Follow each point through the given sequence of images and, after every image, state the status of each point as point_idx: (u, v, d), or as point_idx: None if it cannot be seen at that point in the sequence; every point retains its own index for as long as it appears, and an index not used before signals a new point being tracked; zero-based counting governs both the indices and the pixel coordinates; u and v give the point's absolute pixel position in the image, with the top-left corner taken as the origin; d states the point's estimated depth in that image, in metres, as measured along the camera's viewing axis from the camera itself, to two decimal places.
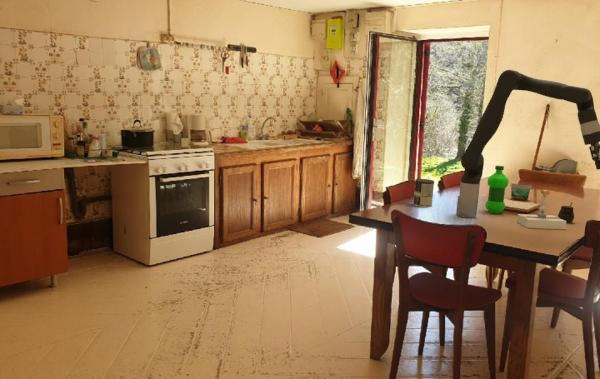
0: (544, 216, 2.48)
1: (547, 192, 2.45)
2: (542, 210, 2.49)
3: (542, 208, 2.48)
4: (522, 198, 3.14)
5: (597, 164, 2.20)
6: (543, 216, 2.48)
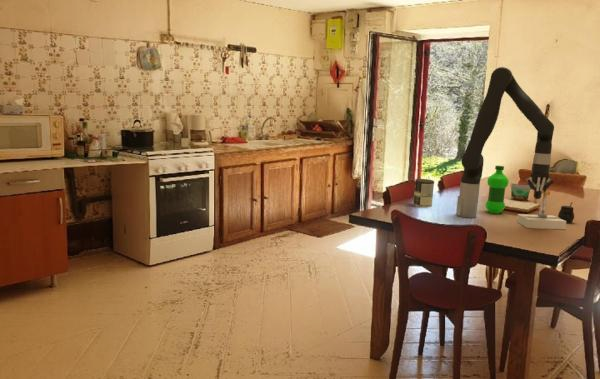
0: (545, 216, 2.48)
1: (548, 192, 2.45)
2: (543, 210, 2.49)
3: (543, 208, 2.48)
4: (522, 198, 3.14)
5: (534, 194, 2.48)
6: (544, 216, 2.48)
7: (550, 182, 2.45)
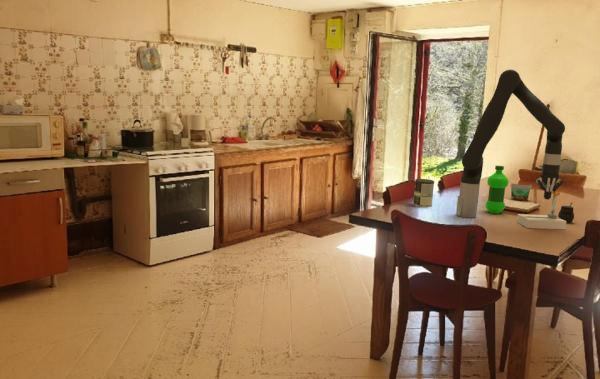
0: (554, 216, 2.48)
1: (558, 192, 2.46)
2: (552, 210, 2.49)
3: (552, 208, 2.49)
4: (522, 198, 3.14)
5: (544, 194, 2.48)
6: (553, 216, 2.48)
7: (560, 183, 2.46)
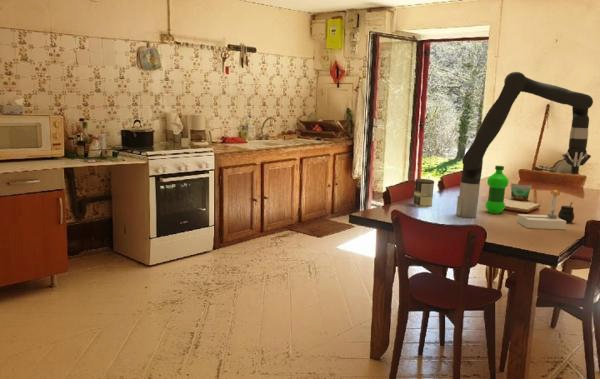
0: (554, 216, 2.48)
1: (557, 192, 2.46)
2: (552, 210, 2.49)
3: (552, 208, 2.49)
4: (522, 198, 3.14)
5: (571, 169, 2.46)
6: (553, 216, 2.48)
7: (587, 157, 2.43)
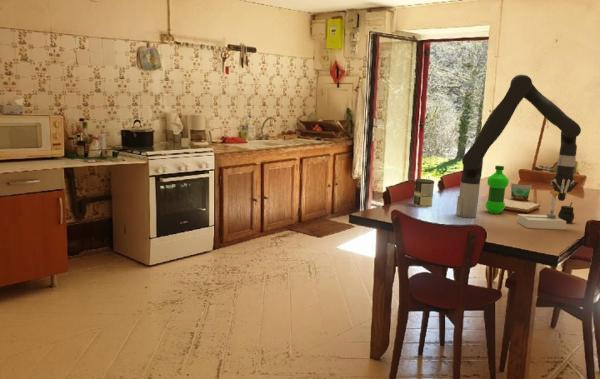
0: (554, 216, 2.48)
1: (557, 192, 2.46)
2: (552, 210, 2.49)
3: (552, 208, 2.49)
4: (522, 198, 3.14)
5: (558, 195, 2.48)
6: (553, 216, 2.48)
7: (574, 184, 2.46)
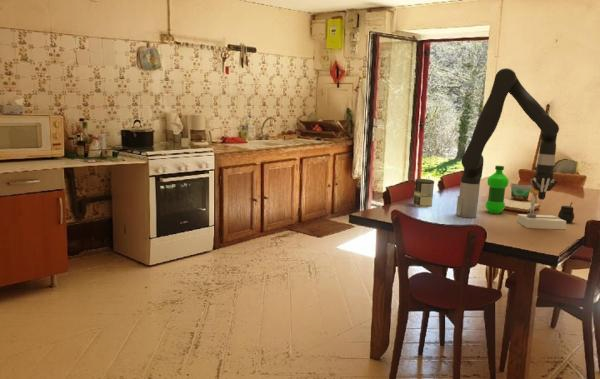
0: (534, 216, 2.48)
1: (537, 192, 2.45)
2: (532, 210, 2.48)
3: (532, 208, 2.48)
4: (522, 198, 3.14)
5: (538, 194, 2.48)
6: (533, 216, 2.48)
7: (554, 183, 2.46)
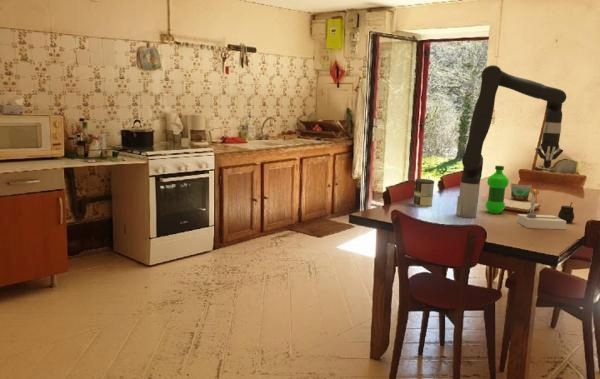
0: (534, 216, 2.48)
1: (537, 192, 2.45)
2: (532, 210, 2.48)
3: (532, 208, 2.48)
4: (522, 198, 3.14)
5: (544, 163, 2.50)
6: (533, 216, 2.48)
7: (560, 151, 2.48)
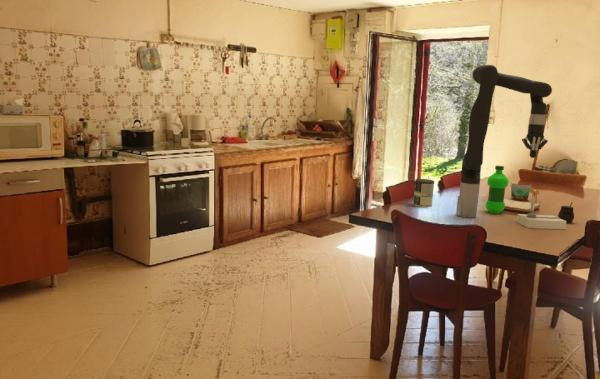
0: (534, 216, 2.48)
1: (537, 192, 2.45)
2: (532, 210, 2.48)
3: (532, 208, 2.48)
4: (522, 198, 3.14)
5: (530, 153, 2.64)
6: (533, 216, 2.48)
7: (545, 142, 2.61)
